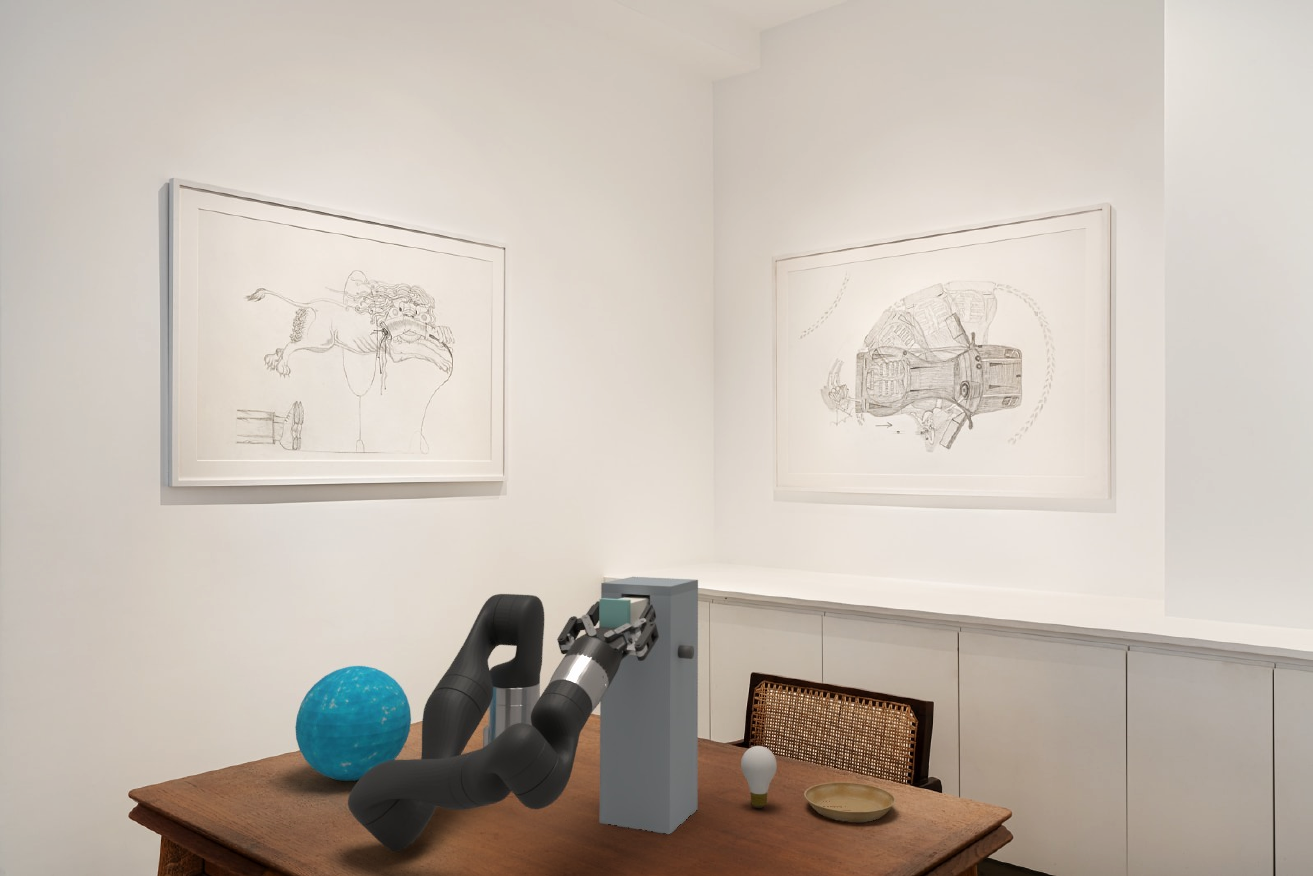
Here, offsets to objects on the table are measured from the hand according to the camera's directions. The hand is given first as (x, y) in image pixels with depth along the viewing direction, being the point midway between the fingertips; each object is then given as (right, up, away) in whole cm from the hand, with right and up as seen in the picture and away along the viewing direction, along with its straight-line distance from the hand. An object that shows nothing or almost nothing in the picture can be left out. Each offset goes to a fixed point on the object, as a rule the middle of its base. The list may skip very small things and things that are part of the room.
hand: (625, 607), depth 142 cm
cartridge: (+2, -3, +4) cm, 5 cm away
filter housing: (+4, -35, +7) cm, 36 cm away
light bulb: (+22, -35, +11) cm, 43 cm away
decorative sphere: (-50, -36, +26) cm, 67 cm away
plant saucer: (+37, -36, +10) cm, 52 cm away
